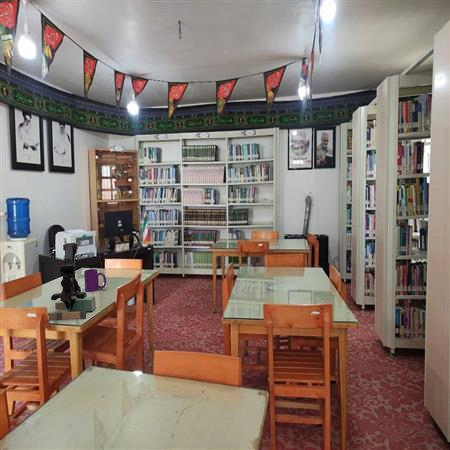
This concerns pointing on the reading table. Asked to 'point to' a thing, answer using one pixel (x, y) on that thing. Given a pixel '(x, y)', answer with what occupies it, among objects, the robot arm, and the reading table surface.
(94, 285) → the mug
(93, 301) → the box
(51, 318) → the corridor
